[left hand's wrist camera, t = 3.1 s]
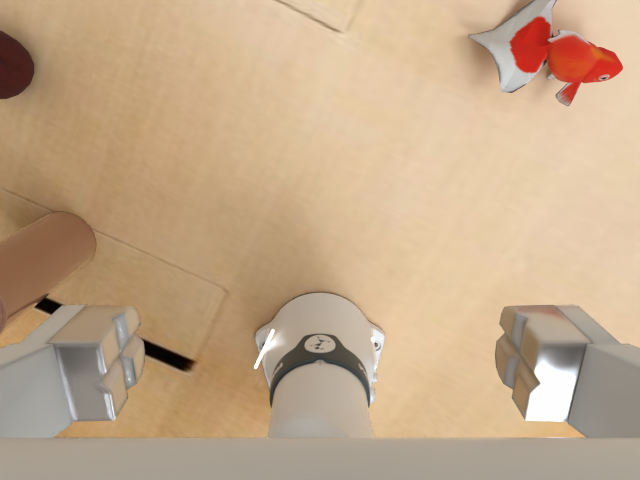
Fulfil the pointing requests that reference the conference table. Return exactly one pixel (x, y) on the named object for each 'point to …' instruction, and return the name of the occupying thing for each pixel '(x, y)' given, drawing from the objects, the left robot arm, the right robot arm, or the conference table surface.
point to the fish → (545, 52)
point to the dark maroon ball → (14, 67)
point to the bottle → (40, 261)
